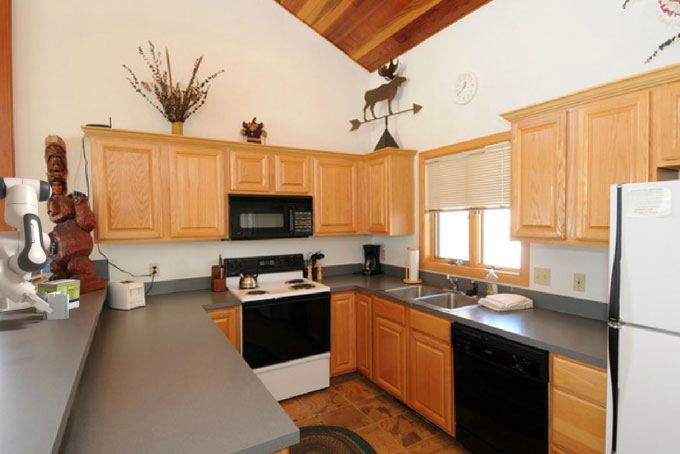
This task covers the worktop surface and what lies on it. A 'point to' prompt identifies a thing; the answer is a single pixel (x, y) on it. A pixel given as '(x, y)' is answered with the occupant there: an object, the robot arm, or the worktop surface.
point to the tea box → (61, 290)
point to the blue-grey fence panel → (58, 306)
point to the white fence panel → (45, 298)
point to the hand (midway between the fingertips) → (50, 311)
